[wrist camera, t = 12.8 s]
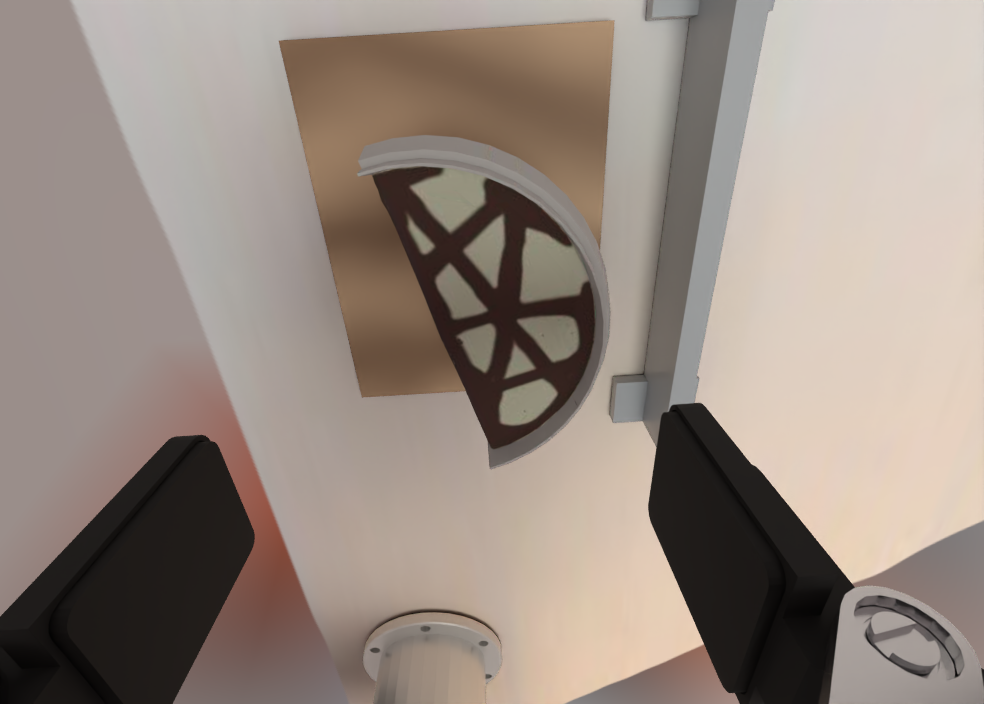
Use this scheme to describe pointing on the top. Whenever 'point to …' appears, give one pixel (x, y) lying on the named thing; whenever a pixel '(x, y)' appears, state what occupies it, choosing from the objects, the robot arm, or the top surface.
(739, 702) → the robot arm
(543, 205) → the food container
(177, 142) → the top surface
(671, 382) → the grey footed rail
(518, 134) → the walnut board
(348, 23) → the top surface
